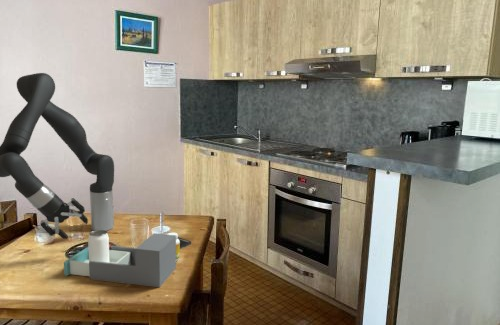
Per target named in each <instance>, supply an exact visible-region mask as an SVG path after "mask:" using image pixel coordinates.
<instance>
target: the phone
mask: <svg viewBox="0 0 500 325" xmlns="http://www.w3.org/2000/svg"><path fill="white" fill-rule="evenodd" d="M177 239H179V241H180V250H181V249H183V248H186V247H188V246H191V245H192V241H191V240H188V239H184V238H181V237H179V236H178V238H177Z"/></svg>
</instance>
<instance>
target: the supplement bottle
mask: <svg viewBox="0 0 500 325" xmlns="http://www.w3.org/2000/svg"><path fill="white" fill-rule="evenodd" d="M166 234H167V235H176V262H177V261H179V260H180V258H181V257H180V255H181V254H180V251H181V249H180V241H179V239H177V238H178V237H179V234H178V233H177V232H169V233H166Z"/></svg>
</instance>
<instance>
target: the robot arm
mask: <svg viewBox="0 0 500 325" xmlns="http://www.w3.org/2000/svg"><path fill="white" fill-rule="evenodd" d="M16 89H17V92H18V94H19V95H20V96H21V97H22V99H23V100H24V101H26V104H25V106H24V107H23V108H22V109H21V111H20V112H19V113H18V114H17V115H16V116H15V117H14V118H13V119H12V121H11V123H10V125H9V126H8V129H7V132H6V134H5V136H4V139H3V141H2V143H1V144H0V178H6V177H12V179H14V181H15V183H14V187H15V189H16V190H17V191H18V193H19V194H21V195H22V196H23V197H24V198H25V199H26V200H27V201H28V202H29V203H30V205H32V207H34V208H35V209H36V210H37V211H39V213H41V214H42V215H43V216H44V217H45V219H44V220H41V221H40V227H41V228H42V229H43V230H44V231H45V232H46V233H47V234H49V236H54V235H58V236H59V237H61V238H62V239H63V240H67V239H69V236H68V234H67V233H66V232H64V231H63V229H61V228H60V223H61V224H62V223H64V222H65V221H66V220H68V219H69V218H70V217H71V218H72V217H74V218H75V217H76V218H77V217H78V218H79V219H80V220H81V221H82V222H83V223H84V224H85V225H87V224H88V223H89V222H88V221H89V220H88V217H87V216H86V215H85V214H84V213H85V207H84V206H83V205H82V204H81V203H80V202H79V201H78V200H76V199H75V198H71V199H70V201H69V202H67V203H66V202H64V200H62V199H61V198H60V197H59V195H58V194H56V193H55V192H54V191H53V190H52V189H51V188H50V187H49V186H48V185H46V184H45V183H44V182H43V181H42V180H41V179H39V178H38V176H36V175H35V174H34V171H33V169H32V168H31V166H30V165H29V164H28V162H27V161H26V160H25V158H24V157H23V156H21V154H22V153H23V152H24V151H26V149H27V148H28V146H29V144H30V143H29V142H30V140H31V138H32V135H33V133H34V130H35V127H36V125H37V123H38V121H39V120H40V118H41V117H42V119H44V120H45V122H47V123H48V125H49V126H50V127H51V128H52V130H54V132H55V133H56V134H57V135H58V137H59V138H60V139H61V140H62V141H63V143H65V144H66V146H67V147H68V148H69V149H70V150H71V152H73V154H74V155H75V156H76V157H77V159H78V160H79V162H80V163H81V165H82V166H83V168H84V170H85V171H86V172H87V173H89V174H90V175H95V176H96V181H95V182H93V183H90V185H89V201H90V221H91V222H90V228H91V230H92V231H95V230H105V231H107V232H108V231H110V230H113V229H114V226H115V223H114V222H115V216H114V213H115V212H114V205H113V204H114V203H113V202H114V201H113V186H114V182H115V162H114V160H113V158H112V156H110V155H109V154H103V153H102V154H101V153H97V152H96V151H94V149H93V148H92V147H91V146H90V145H89V143H88V141H87V140H88V139H87V132H86V130H85V128H84V127H83V124H81V123H80V121H79V120H78V119H77V118H76V117H75V116H74V115H72V113H70V112H68V111H66V110H64V109H63V108H61V107H59V106H58V105H56V104H55V103H53V101H51V99H52V98H53V97H54V94H55V92H56V82H55V81H54V78H53V77H52V76H51V75H50V74H48V73H46V72H37V73H32V74H26V75H22V76H20V77H19V78H18V79H17V81H16ZM70 207H75V208H76V209H73V208H70ZM49 223H54V229H53V228H52V227H51V226H50V225H49Z"/></svg>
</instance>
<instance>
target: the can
mask: <svg viewBox="0 0 500 325" xmlns="http://www.w3.org/2000/svg"><path fill="white" fill-rule="evenodd" d="M88 234H89V235H88V238H87V245H88V246H87V247H88V250H89V261H98V262H107V263H109V250H110V241H109V240H110V239H109V234H108V230H107V231H105V230H95V231H93V230H92V231H90V232H89V233H88Z"/></svg>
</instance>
